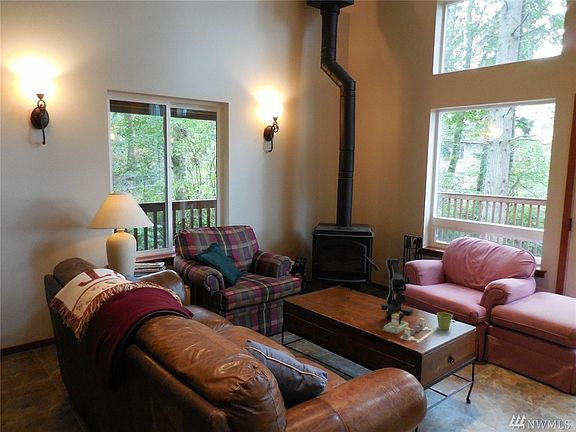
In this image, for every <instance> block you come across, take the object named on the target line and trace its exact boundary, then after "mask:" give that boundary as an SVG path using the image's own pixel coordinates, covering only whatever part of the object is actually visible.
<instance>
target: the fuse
mask: <svg viewBox="0 0 576 432" xmlns="http://www.w3.org/2000/svg"><path fill="white" fill-rule="evenodd" d="M399 314H400V313H398V314H397V313H395V314H392V315H391V316H392V320H391V322H392V324H391V326H394V327H399V326H401V324H400V325H399Z"/></svg>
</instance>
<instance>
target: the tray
mask: <svg viewBox="0 0 576 432" xmlns="http://www.w3.org/2000/svg"><path fill="white" fill-rule="evenodd" d="M391 324H392V321H391V322H389V323H387V324H385V325H384V326H383V327H382V330H383V331H385V332H387V333H390V334H391V333H392V334H394V335H398V334H399V333H401V332H402V331H405V329H404V328H405V327H408V328H409V327H410V326H409V324H410V323H409V322H407V321H403V320H402V321H401V326H399V327H394V326H391Z"/></svg>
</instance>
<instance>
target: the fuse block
mask: <svg viewBox="0 0 576 432" xmlns="http://www.w3.org/2000/svg"><path fill="white" fill-rule="evenodd" d="M421 331H422V332H423V331H424V332H425V331H429V332H428V333H426V334H425V335H424V336H422V337H421V338H419V339H418V338H417V339H416V338H415V337H414V336H416V332H417V333H420V332H421ZM436 332H437V328H434V329H431V328H429V326H426V319H425V318H422V317H419V323H418V325H414V329H413V328H411V327H409V326H408V327H405V328H404V333H402V335H400V337H399V339H401V340H405V341H408V342H410V341H414V342H415V343H416V344H417V345H419V344H420V343H422V342H423V341H425V339H428V338H429V337H430V336H431V335H433V334H435V333H436Z"/></svg>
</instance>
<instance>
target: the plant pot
mask: <svg viewBox="0 0 576 432" xmlns="http://www.w3.org/2000/svg"><path fill="white" fill-rule="evenodd" d="M436 317H437V323H438V324H437V325H438V328H439V330H443V331H447V330H448V331H449V330H450V327H451V322H452V318H453V314H451V313H448V312H442V311H441V312H437V313H436Z"/></svg>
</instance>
